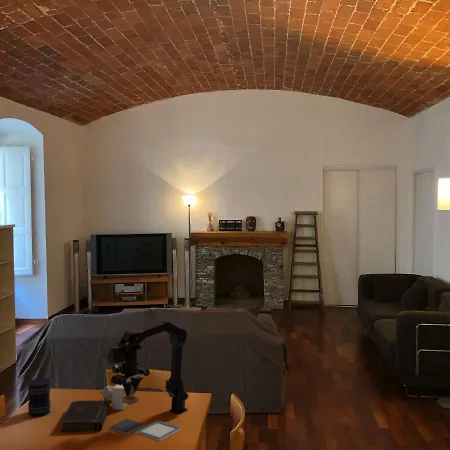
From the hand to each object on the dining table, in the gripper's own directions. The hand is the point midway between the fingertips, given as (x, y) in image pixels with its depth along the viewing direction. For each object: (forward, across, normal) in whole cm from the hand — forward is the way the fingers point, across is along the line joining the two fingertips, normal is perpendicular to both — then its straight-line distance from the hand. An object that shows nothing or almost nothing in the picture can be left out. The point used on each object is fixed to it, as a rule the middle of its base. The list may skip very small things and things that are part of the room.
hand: (130, 395), depth 232 cm
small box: (+14, -13, -19) cm, 27 cm away
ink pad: (+14, +2, 0) cm, 14 cm away
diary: (+15, +7, -21) cm, 27 cm away
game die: (+14, -15, -29) cm, 36 cm away
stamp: (+3, 0, 0) cm, 3 cm away
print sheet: (+14, -3, +14) cm, 20 cm away
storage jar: (+15, +14, -45) cm, 49 cm away
